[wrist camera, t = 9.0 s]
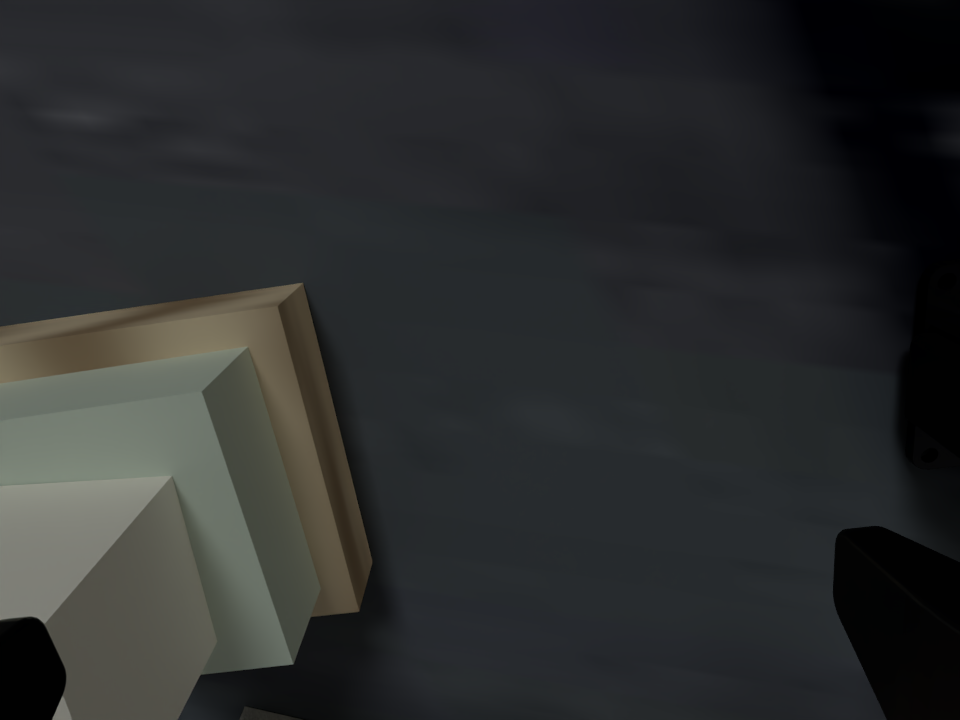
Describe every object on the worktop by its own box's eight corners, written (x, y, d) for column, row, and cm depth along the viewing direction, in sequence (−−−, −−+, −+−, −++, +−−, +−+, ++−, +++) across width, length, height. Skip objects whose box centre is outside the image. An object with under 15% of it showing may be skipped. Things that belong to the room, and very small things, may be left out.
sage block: (248, 346, 18) (201, 391, 15) (321, 588, 21) (293, 664, 18) (-32, 388, 18) (-126, 439, 16) (76, 617, 21) (12, 695, 18)
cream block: (171, 475, 16) (37, 631, 11) (217, 641, 17) (118, 836, 13) (-34, 487, 16) (-251, 646, 11) (32, 650, 18) (-132, 846, 13)
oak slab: (307, 278, 20) (277, 306, 17) (375, 551, 24) (359, 611, 21) (-2, 323, 21) (-79, 357, 18) (107, 582, 24) (57, 643, 22)
